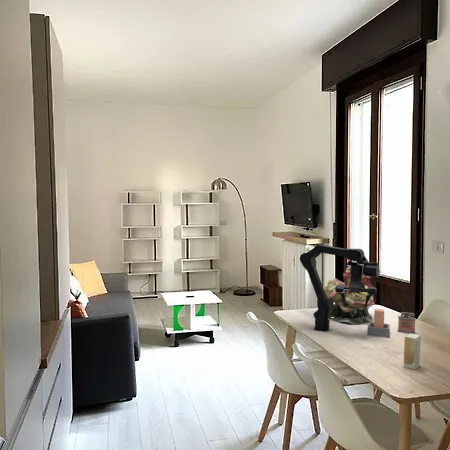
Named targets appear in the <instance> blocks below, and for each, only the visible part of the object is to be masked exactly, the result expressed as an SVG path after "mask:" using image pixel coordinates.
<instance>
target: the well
mask: <svg viewBox="0 0 450 450" xmlns="http://www.w3.org/2000/svg"><path fill="white" fill-rule="evenodd" d="M367 323H368V324H367V329H366V330H367V334H366V336H370V337H380V338H381V337H382V338H390V331H391V330H390V327H391V326H390V323H384V328H378V327H374V322H372V321H368V322H367Z"/></svg>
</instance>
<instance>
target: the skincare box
mask: <svg viewBox="0 0 450 450" xmlns="http://www.w3.org/2000/svg"><path fill="white" fill-rule="evenodd" d="M421 337H422V336H421V334H416V333H415V334H411V333H410V334H408V333H407V335H405V336H404V348H403V349H404V351H403V367H404V368H407V369H411V370H416V369H417V368H418V367H420V364H421V342H422V341H421V339H422V338H421Z"/></svg>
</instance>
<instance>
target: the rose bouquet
mask: <svg viewBox="0 0 450 450" xmlns="http://www.w3.org/2000/svg"><path fill="white" fill-rule="evenodd" d="M342 275H343V276H342V277H343V282H342V281H341V280H339V279H338V278H336V277H335V278H332V279H329V280H328V281H327V284H325V285H322V286H323V288H324V291H325V294H326V296H327V297H328V298H332V302H333V304H334V309H333V311H332V312H331V313H330V315H329V316H327V317H330V318H329V319H332V321H334V322H338V323H339V322H340V323H342V322H345V323H347V324H348V323H349V324H350V325H351V326H358V325H362V324H364V323H368V322H370V321H374V317H373V315H371V314H370V313H369V308H371V307H372V306H374V305H375V301H374V296H375V295H373V297H370V299H369V301H368V303H367V306H366V309H365V302H366V296H367V293H366V292H360V293H350V291H345V297H346V307H345V306H344V302H343V299H342V297H341V295H340V294H338V292H335V287H336V286H337V285H345V287H349V283H350V265H347V267H346V270H345V271H344V272H342ZM371 278H373V277H369V276H365V275H364V274H363V275H362V283H365V289H368V287H374V285H372V284H371ZM331 317H335V318H331ZM336 317H342V318H341V319H340V318H336ZM344 318H348V319H344Z"/></svg>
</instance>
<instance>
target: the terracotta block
mask: <svg viewBox="0 0 450 450" xmlns="http://www.w3.org/2000/svg"><path fill="white" fill-rule="evenodd" d="M373 313H374V314H373V315H374V317H373V319H374V320H373V321H374V322H373V323H374V327H378V328H384V324H385V309H381V308H378V309H377V308H374V312H373Z"/></svg>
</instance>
